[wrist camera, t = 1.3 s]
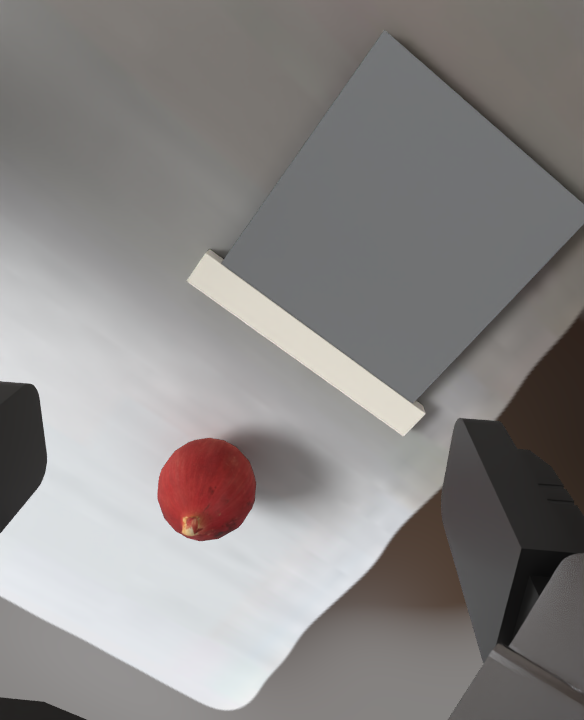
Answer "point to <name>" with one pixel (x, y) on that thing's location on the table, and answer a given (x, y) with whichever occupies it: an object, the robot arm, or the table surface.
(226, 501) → the onion
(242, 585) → the table surface
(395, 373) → the mat
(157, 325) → the table surface
